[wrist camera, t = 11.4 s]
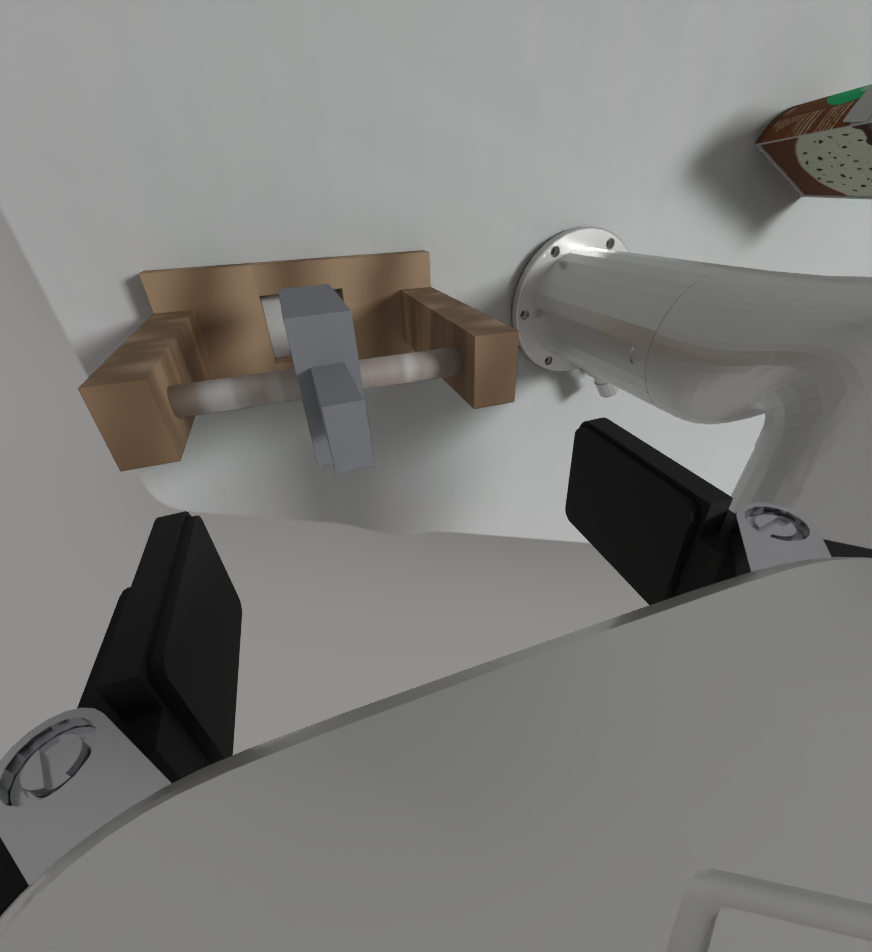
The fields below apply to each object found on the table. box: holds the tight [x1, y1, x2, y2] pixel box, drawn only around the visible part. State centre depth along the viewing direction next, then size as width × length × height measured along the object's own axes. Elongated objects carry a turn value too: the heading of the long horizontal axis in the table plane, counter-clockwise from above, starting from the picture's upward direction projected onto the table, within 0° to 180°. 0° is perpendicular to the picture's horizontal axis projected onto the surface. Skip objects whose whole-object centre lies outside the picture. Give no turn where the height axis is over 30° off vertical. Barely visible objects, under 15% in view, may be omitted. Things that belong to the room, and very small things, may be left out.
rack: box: [78, 250, 519, 471], centre depth 28 cm, size 20×9×16 cm, turn 93°
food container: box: [755, 84, 872, 199], centre depth 36 cm, size 12×6×10 cm, turn 66°
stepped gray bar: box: [278, 284, 374, 474], centre depth 23 cm, size 8×3×14 cm, turn 4°
